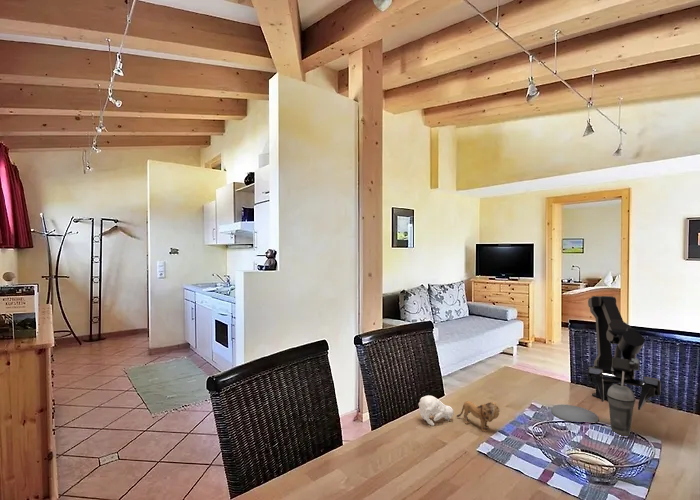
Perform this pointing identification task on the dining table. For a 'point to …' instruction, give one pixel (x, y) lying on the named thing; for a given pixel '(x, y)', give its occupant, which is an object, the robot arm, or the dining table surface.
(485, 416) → the lion figurine
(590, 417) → the coaster
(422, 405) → the white rounded figure
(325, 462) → the dining table surface
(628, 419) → the beverage cup
